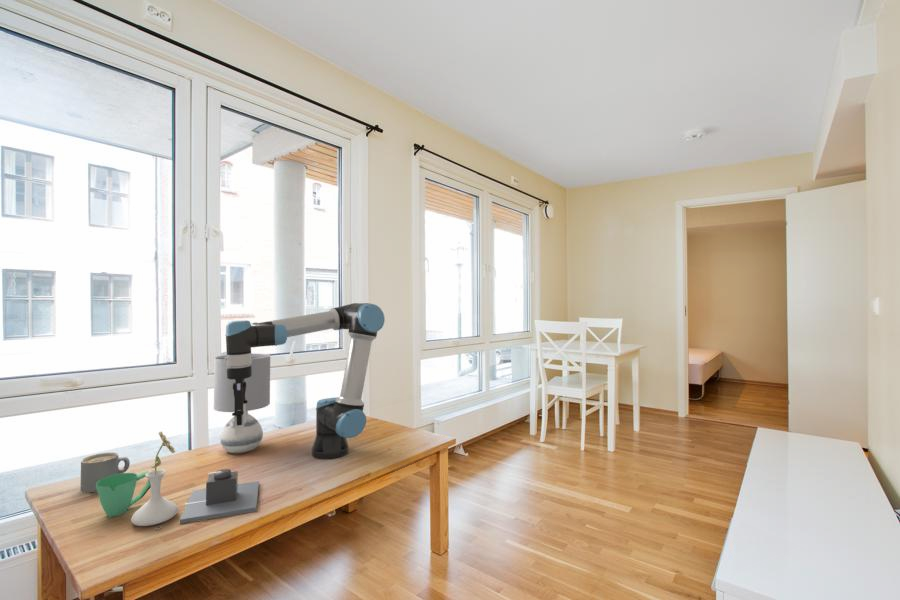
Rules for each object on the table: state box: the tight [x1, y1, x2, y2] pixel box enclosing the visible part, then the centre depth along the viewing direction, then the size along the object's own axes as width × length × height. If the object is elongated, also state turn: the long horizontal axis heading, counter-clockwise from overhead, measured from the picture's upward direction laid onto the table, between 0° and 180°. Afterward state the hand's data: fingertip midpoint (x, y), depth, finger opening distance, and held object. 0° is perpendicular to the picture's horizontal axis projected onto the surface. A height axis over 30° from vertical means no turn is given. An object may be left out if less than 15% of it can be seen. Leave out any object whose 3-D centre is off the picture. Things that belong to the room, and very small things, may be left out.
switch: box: [179, 480, 260, 525], centre depth 133 cm, size 20×20×6 cm
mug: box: [96, 471, 151, 517], centre depth 129 cm, size 15×10×10 cm
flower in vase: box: [130, 431, 179, 527], centre depth 123 cm, size 13×11×25 cm
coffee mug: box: [80, 451, 131, 494], centre depth 145 cm, size 13×10×10 cm
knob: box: [205, 468, 239, 505], centre depth 133 cm, size 8×6×9 cm
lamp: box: [213, 352, 271, 454], centre depth 180 cm, size 22×22×40 cm
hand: (240, 428), depth 142 cm, fingers open, 13 cm apart
